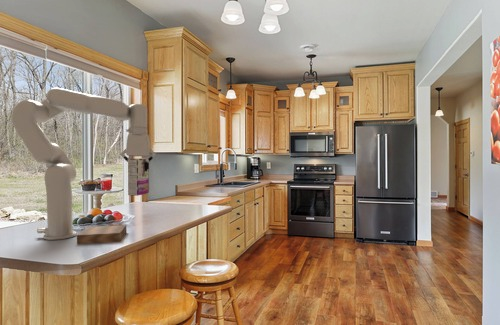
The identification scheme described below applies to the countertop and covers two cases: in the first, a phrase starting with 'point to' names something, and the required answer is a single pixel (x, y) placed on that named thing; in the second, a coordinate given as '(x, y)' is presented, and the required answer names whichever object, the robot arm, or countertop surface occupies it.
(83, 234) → the walnut block
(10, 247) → the countertop surface
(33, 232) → the countertop surface
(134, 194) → the candy bar box
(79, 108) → the robot arm
